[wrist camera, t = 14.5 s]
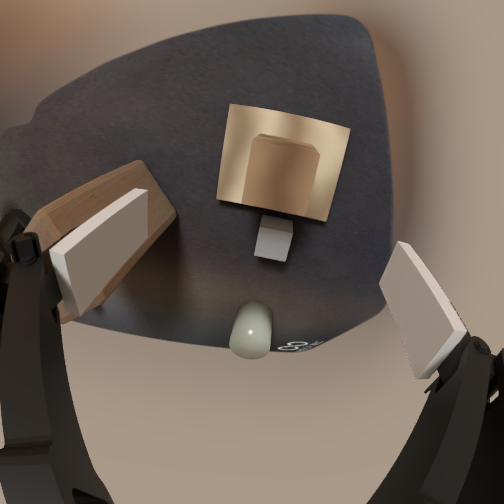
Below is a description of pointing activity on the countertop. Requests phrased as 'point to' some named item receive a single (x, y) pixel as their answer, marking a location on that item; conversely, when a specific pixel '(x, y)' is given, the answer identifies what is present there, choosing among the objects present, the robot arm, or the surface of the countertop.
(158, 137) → the countertop surface
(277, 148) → the walnut block
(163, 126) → the countertop surface
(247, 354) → the pale green rounded cylinder
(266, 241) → the slate cube
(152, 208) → the block
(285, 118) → the board
